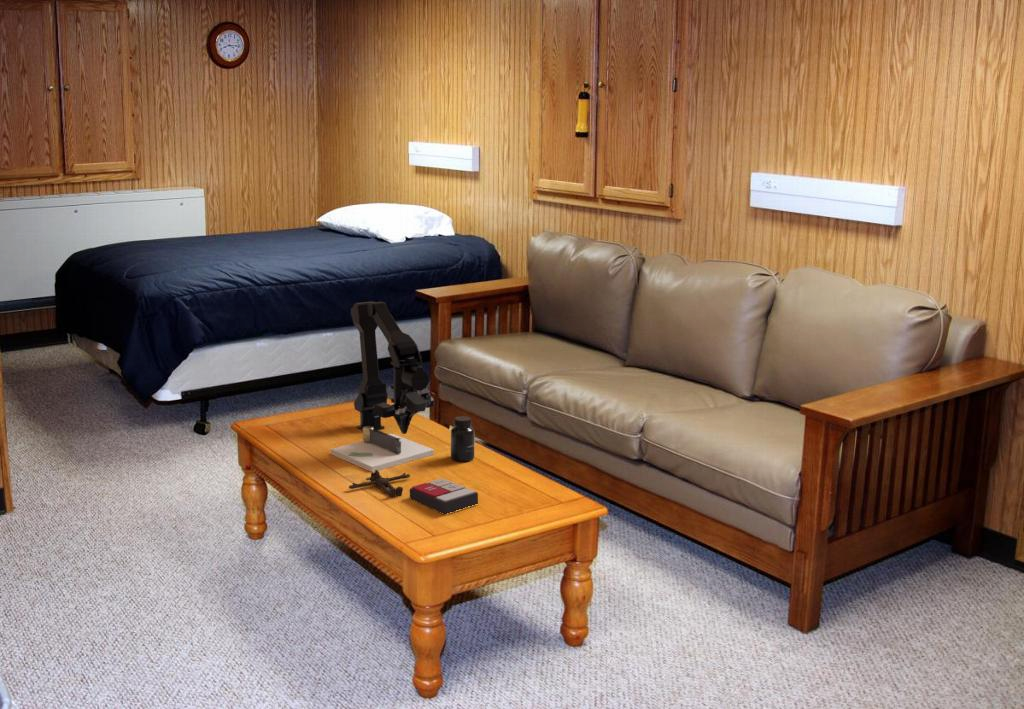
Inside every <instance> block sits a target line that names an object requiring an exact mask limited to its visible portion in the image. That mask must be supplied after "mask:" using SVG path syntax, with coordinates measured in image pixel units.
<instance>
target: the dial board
mask: <svg viewBox="0 0 1024 709" xmlns="http://www.w3.org/2000/svg"><path fill="white" fill-rule="evenodd" d="M387 434H388V435H391V436H394V437H396V438H400V439H401V453H399V454H397V453H395V452H393V451H390V450H388V449H385V448H383V447H380V446H378V445H375V444H373V443H370V442H369V443H368V442H363V440H362V441H357V442H352V443H349V444H345V445H342V446H338V447H334V448H330V455H332V456H334V457H336V456H337V457H336V458H339V459H341V460H343V461H347V462H348V463H351V464H353V465H355V466H357V467H360V468H362V469H365V470H367V471H370V472H371V473H374V472H375V470H377V471H378V472H379V471H382V470H385V469H389V468H391V467H395V465H396V466H399V465H402V464H406V463H409V461H410V462H412V460H413V461H416V460H420V459H424V458H426V457H430V456H434V454H435V449H433V448H430V447H428V446H426V445H423V444H421V443H417V442H416V441H413V440H410V439H407V438H404V437H402V436H400V435H397V434H394V433H387Z"/></svg>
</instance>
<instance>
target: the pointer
mask: <svg viewBox="0 0 1024 709" xmlns="http://www.w3.org/2000/svg"><path fill="white" fill-rule="evenodd" d="M388 434H389V433H386V432H383V431H381V430H376V429H374V427H372V426H365V427H363V430H362V441H363V442H368V443H369V442H370V443H373V444H375V445H378V446H380V447H383V448H385V449H388V450H390V451H393V452H395V453H397V454H399V453H401V439H400V438H396V437H394V436H391V435H388Z"/></svg>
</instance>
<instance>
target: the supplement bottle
mask: <svg viewBox="0 0 1024 709" xmlns="http://www.w3.org/2000/svg"><path fill="white" fill-rule="evenodd" d="M453 424H454V426H453V427H452V428H451V430H450V458H451V460H452V461H454V462H458V463H467V462H471V461H473V460H474V458H475V446H476V445H475V443H476V442H475V441H476V440H475V439H476V437H475V435H476V432H475V429H474V427H472V418H471V417H469V416H456V417H454V423H453Z"/></svg>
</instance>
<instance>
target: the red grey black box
mask: <svg viewBox="0 0 1024 709" xmlns="http://www.w3.org/2000/svg"><path fill="white" fill-rule="evenodd" d="M410 498H411V499H410ZM409 499H410V500H412V501H414V500H415V501H414V502H416V501H417V503H418V502H419V503H418V504H420V503H421V504H420V505H422V504H423V506H425V505H426V506H425V507H427V506H428V507H427V508H431V509H432V508H433V510H434V509H435V510H437V511H439V512H441V513H443V514H447V513H450V512H454V511H456V510H459V509H463V508H465V507H468V506H472V505H475V504H478V505H479V492H477V491H476V490H473V489H470V488H468V487H466V486H464V485H461V484H459V483H456V482H452V481H451V480H448V479H445V478H442V477H441V478H438V479H435V480H431V481H428V483H427V482H425V483H421V484H416V485H413V486H412V487H411V488H409ZM435 510H434V511H435ZM437 511H436V512H437ZM439 512H438V513H439ZM441 513H440V514H441ZM454 513H455V512H454ZM443 514H442V515H443Z"/></svg>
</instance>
